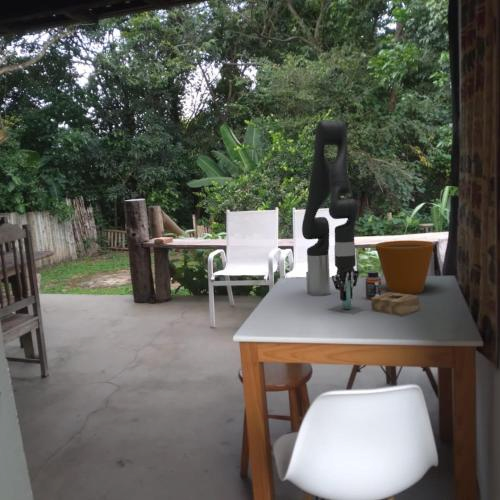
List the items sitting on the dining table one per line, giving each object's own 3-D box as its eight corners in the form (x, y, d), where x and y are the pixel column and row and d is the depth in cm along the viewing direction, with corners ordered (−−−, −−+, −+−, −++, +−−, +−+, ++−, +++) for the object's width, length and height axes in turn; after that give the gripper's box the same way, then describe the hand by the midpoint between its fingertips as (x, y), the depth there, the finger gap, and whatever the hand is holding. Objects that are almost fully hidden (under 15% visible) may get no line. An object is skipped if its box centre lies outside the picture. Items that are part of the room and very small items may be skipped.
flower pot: (446, 289, 206) (446, 242, 203) (410, 298, 193) (409, 249, 190) (400, 282, 225) (399, 239, 223) (365, 290, 212) (363, 245, 210)
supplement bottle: (381, 301, 192) (381, 272, 190) (366, 301, 193) (365, 273, 192) (380, 297, 198) (380, 270, 196) (365, 297, 199) (365, 270, 197)
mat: (326, 310, 182) (326, 309, 182) (341, 305, 188) (341, 304, 188) (353, 315, 173) (353, 314, 173) (367, 310, 179) (367, 309, 179)
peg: (340, 307, 181) (340, 281, 180) (345, 306, 183) (345, 280, 182) (347, 309, 179) (346, 282, 177) (352, 307, 181) (351, 281, 179)
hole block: (371, 311, 177) (371, 298, 177) (390, 304, 185) (389, 291, 185) (401, 316, 168) (400, 302, 168) (419, 309, 176) (418, 295, 176)
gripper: (348, 250, 185) (349, 294, 188) (324, 255, 176) (326, 301, 179) (364, 251, 180) (366, 297, 182) (341, 257, 171) (342, 304, 173)
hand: (346, 299), depth 180 cm, fingers closed on peg, 3 cm apart
